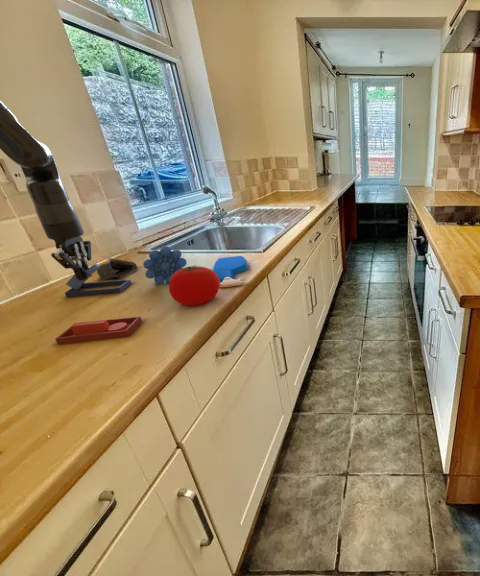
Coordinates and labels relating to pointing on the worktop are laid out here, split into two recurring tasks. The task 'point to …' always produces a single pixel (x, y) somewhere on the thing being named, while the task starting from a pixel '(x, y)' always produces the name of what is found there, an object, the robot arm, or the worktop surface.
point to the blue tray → (76, 293)
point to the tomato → (194, 285)
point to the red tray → (67, 337)
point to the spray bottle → (230, 270)
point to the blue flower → (163, 264)
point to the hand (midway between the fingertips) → (85, 278)
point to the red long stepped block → (96, 327)
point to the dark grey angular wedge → (116, 269)
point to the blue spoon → (77, 283)
